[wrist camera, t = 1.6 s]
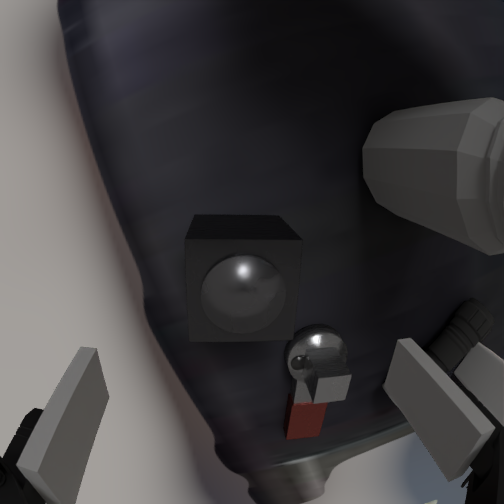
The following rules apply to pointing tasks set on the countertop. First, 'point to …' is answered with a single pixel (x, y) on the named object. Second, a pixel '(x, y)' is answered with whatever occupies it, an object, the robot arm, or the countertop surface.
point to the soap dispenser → (484, 378)
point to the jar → (442, 169)
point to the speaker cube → (241, 278)
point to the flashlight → (460, 335)
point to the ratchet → (314, 378)
